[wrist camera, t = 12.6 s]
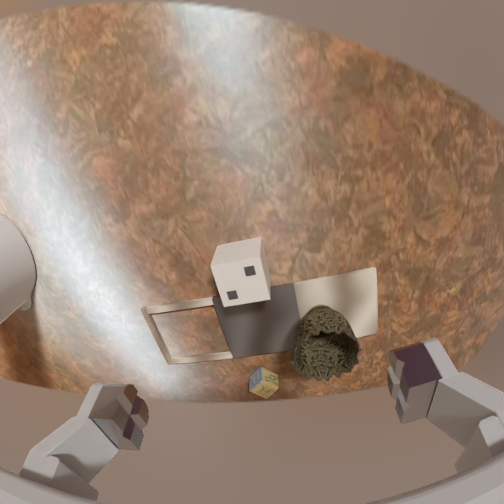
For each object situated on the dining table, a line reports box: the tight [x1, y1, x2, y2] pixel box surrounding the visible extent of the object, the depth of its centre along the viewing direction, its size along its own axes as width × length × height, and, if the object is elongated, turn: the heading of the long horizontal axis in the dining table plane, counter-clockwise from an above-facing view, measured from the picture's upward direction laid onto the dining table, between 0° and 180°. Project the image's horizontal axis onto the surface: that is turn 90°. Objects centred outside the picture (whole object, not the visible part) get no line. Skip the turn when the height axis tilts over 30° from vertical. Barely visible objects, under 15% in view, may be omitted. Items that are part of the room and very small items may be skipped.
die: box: [211, 237, 270, 307], centre depth 34 cm, size 5×5×5 cm
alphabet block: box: [249, 367, 279, 399], centre depth 43 cm, size 3×3×3 cm
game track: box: [141, 267, 378, 364], centre depth 40 cm, size 30×10×1 cm, turn 103°
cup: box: [292, 305, 361, 381], centre depth 35 cm, size 8×7×8 cm
